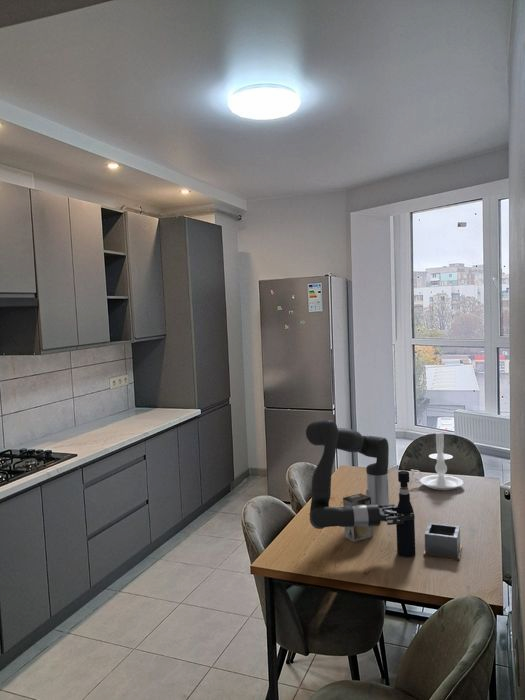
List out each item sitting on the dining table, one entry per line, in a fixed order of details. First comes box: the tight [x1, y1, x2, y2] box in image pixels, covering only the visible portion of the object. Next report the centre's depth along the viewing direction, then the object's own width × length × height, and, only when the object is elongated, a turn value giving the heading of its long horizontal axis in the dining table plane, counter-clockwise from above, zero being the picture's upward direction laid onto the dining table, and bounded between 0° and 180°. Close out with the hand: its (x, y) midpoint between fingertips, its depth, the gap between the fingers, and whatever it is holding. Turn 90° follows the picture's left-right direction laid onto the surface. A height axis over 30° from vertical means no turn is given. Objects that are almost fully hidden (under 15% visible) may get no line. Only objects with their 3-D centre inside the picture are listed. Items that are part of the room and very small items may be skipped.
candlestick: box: [410, 432, 465, 491], centre depth 264 cm, size 21×25×28 cm
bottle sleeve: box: [422, 522, 463, 562], centre depth 194 cm, size 12×12×8 cm
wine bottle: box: [395, 470, 417, 559], centre depth 193 cm, size 6×6×30 cm
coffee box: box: [342, 493, 374, 543], centre depth 210 cm, size 9×6×16 cm
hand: (411, 512), depth 193 cm, fingers closed on wine bottle, 6 cm apart
